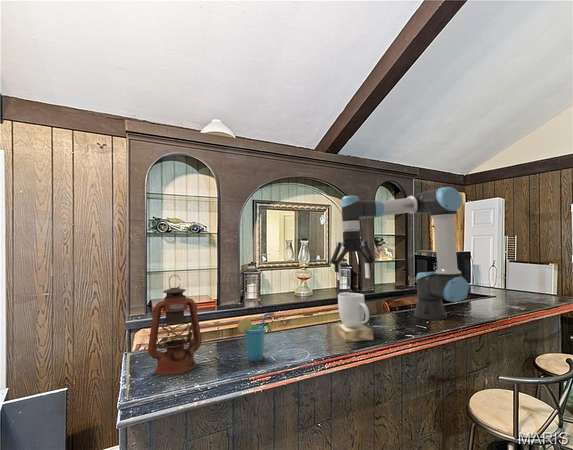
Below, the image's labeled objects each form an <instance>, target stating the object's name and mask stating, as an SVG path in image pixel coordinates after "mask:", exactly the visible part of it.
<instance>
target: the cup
mask: <svg viewBox="0 0 573 450" xmlns="http://www.w3.org/2000/svg"><path fill="white" fill-rule="evenodd" d="M267 316H269V317H270V316H271V317H274V316H275V313H273V312H266V313H264V315H263V317H262V321H261V323H260V324H252V321H251V320H250V319H248V318H242V319H241V320H239V321H238V322H237V326H236V328H237V330H238V331H239V333H242V334H244V335H245V341H246V352H247V359H248V360H247V361H249V362H259V361H262V360H263V359H264V346H265V332H266V326H265V325H264V324H265V321H266V317H267Z"/></svg>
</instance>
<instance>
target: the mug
mask: <svg viewBox="0 0 573 450" xmlns="http://www.w3.org/2000/svg"><path fill="white" fill-rule="evenodd" d="M365 301H366V300H365V294H363V293H356V292H343V293H339V294H337V306H338V314H339V317H340V320H341V324H343V325H344V326H345V327H348V328H357V327H360V326H361V324H367V322H369V319H370V311H369V308H368V306H367V305H366V302H365ZM364 318H365V319H364Z"/></svg>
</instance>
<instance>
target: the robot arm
mask: <svg viewBox="0 0 573 450" xmlns="http://www.w3.org/2000/svg"><path fill="white" fill-rule="evenodd" d="M462 203H463V199H462V196H461V194H460V192H459V191H457V189H456V188H454V187H451V186H445V187H444V186H443V187H439V188H436V189H432V190H427V191H424V192H420V193H417V194H414V195H412V194H411V195H408V196H407V197H406V198H405V197H404V198H396V199H395V198H394V199H388V200H374V199H373V200H359V196H357V195H345V196H343V197H342V198H341V203H340V205H341V206H340V207H341V219H342V221H341V223H342V230H343V231H342V241H343V242H340V241H337V242H336V245H335V246H336V247H335V249H334V252H333V254H332V256H331V259H330V264H332V265H334V273H336V281H342V268H341V264H340V263H341V262H342V261H343V259H344V257H346V255H347V254H348V253H354V252H355V253H358V254H359V256H360V257H361V258H362V259H363V261H365V262H364V271H365V272H364V274H365V275H364V277H365V279H370V277H371V276H370V274H371V272H370V271H372V263H373V262H375V261H376V260H375V257H374V255H373V254H372V252H371V249H370V248H369V246H368V242H367V241H366V240H363V241H361V231H360V230H361V227H360V226H361V225H360V220H362V219H368V218H369V219H370V218H380V217H384V216H385V217H387V216H393V215H400V214H406V213H407V214H408V213H409V214H410V215H415V214H430V215H429V216H430V218H431V219H433V225H434V226H433V227H434V240H435V250H436V262H437V263H436V265H437V269H436V270H435V271H426V272H424V271H423V272H418V273H417V274H416V290H417V291H416V293H417V302H416V305H415V308H414V317H415V318H418V319H423V320H430V321H438V320H439V321H440V320H445V319H447V312H446V308H445V305H444V303H443V300H444V301H447V302H455V303H457V302H458V303H459V302H461V301H462V300H464V299H465V297H467V296H468V293H469V283H468V281H467V280H466V279H465V278H464V277H463V276H462V271H461V270H460V269H459V268H458V258H457V245H456V231H455V230H456V229H455V221H454V220H455V217H456V216H457V215H458V213H457V212H458V210H459V209H460V207H461V206H462ZM342 247H343V249H342ZM361 247H363V249H362V248H361ZM341 249H342V251H341V252H340V250H341ZM363 250H364V251H363ZM339 253H340V254H339Z"/></svg>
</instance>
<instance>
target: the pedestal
mask: <svg viewBox="0 0 573 450" xmlns="http://www.w3.org/2000/svg"><path fill="white" fill-rule="evenodd" d="M334 334H335V335H336V336H337V337H338V338H340V339H341V340H342V341H344V342H345V343H351V342H359V341H360V342H361V341H363V342H364V341H372V340H373V341H374V329H373V328H371V327H369V326H367V325H366V324H365V323H363V324H361V326H360V327H357V328H348V327H345V326H344V325H343V323H337V324H336V323H335V324H334Z"/></svg>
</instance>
